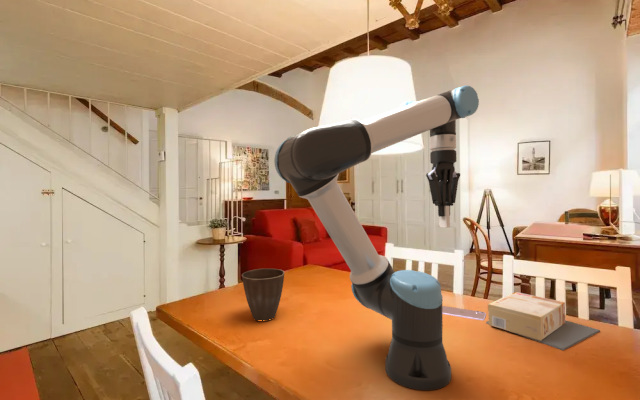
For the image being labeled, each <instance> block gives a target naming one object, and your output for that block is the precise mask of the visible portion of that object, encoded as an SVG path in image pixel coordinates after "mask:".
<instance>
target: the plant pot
mask: <svg viewBox="0 0 640 400" xmlns="http://www.w3.org/2000/svg"><path fill="white" fill-rule="evenodd" d="M241 277H242V278H241V280H242V283H243V284H242V286H243V290H244V294H245V298H246V302H247V304H248V308H249V310H250V313H251V316H252V318H253V320H254V319H255V320H262V321H263V320H269V319H272V318H274V317H275V318H276V315H277V312H278V308H279V305H280V302H281V298H282V293H283V287H284V280H285V271H284V270H282V269H278V268H257V269H252V270H248V271H244V272H243V273H242V274H241ZM275 318H274V319H275ZM255 320H254V321H255ZM272 320H273V319H272Z"/></svg>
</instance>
